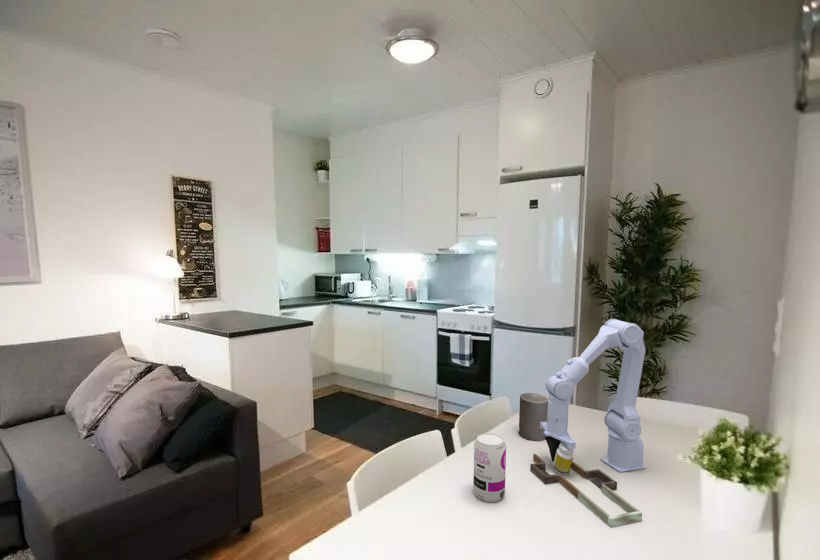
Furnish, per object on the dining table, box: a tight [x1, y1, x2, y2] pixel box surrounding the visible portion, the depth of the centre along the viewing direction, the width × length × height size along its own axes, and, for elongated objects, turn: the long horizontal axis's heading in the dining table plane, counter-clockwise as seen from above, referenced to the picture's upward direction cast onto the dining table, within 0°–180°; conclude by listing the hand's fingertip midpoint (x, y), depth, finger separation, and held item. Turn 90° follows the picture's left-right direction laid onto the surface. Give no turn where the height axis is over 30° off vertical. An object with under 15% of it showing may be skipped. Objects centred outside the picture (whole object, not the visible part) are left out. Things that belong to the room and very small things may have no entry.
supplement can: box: [472, 432, 507, 503], centre depth 107 cm, size 8×8×15 cm
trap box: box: [529, 453, 643, 528], centre depth 111 cm, size 18×32×2 cm, turn 15°
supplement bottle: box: [552, 442, 575, 476], centre depth 118 cm, size 5×5×8 cm
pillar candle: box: [518, 392, 549, 442], centre depth 143 cm, size 10×10×15 cm
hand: (555, 461), depth 122 cm, fingers closed
